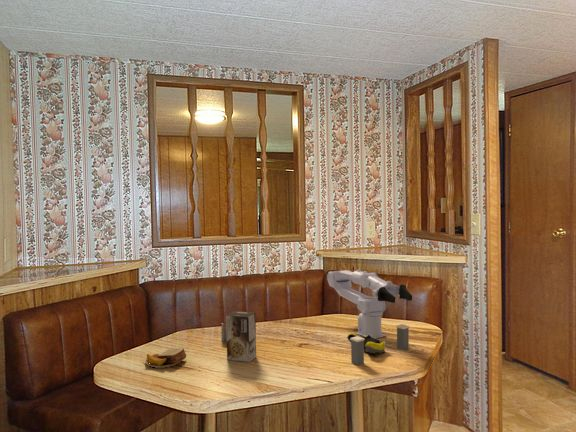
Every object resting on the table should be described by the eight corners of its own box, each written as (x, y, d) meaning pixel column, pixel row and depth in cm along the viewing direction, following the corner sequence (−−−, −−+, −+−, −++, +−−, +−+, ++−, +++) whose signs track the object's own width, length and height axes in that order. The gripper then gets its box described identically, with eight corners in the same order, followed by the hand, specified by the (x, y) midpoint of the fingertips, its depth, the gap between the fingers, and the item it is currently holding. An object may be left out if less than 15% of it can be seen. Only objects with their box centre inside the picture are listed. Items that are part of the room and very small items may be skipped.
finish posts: (350, 362, 149) (350, 338, 149) (402, 346, 166) (402, 324, 165) (357, 365, 147) (357, 340, 146) (409, 348, 163) (409, 326, 163)
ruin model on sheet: (247, 337, 181) (247, 314, 180) (250, 339, 178) (249, 316, 178) (221, 341, 176) (221, 317, 176) (223, 343, 173) (223, 319, 173)
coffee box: (256, 356, 157) (256, 312, 156) (249, 362, 151) (249, 316, 150) (234, 353, 160) (233, 310, 159) (226, 359, 154) (225, 314, 153)
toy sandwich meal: (162, 354, 160) (162, 342, 160) (192, 360, 155) (191, 347, 154) (137, 366, 149) (137, 352, 149) (168, 372, 143) (167, 358, 143)
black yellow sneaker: (369, 359, 153) (391, 354, 157) (368, 343, 153) (391, 339, 157) (344, 347, 166) (365, 343, 171) (344, 332, 166) (365, 329, 171)
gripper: (366, 278, 169) (387, 290, 157) (397, 276, 175) (419, 287, 163) (365, 296, 171) (385, 309, 158) (395, 292, 176) (417, 304, 164)
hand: (402, 299), depth 161 cm, fingers open, 7 cm apart
